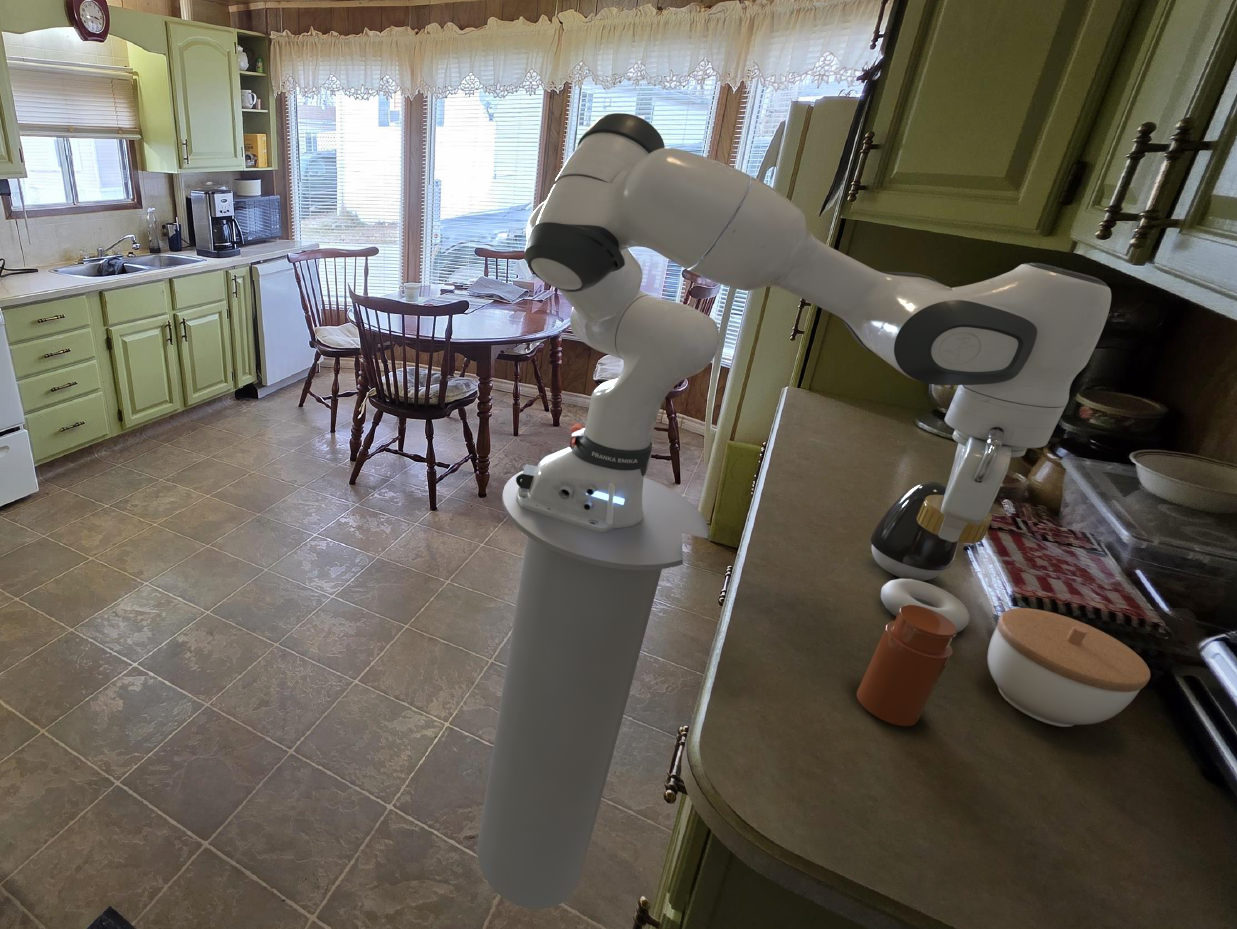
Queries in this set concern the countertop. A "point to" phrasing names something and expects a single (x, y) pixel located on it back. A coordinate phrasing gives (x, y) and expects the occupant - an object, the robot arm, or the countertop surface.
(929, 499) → the lid
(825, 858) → the countertop surface
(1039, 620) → the lidded bowl
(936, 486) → the glossy black oval piece
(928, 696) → the jar
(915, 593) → the donut
